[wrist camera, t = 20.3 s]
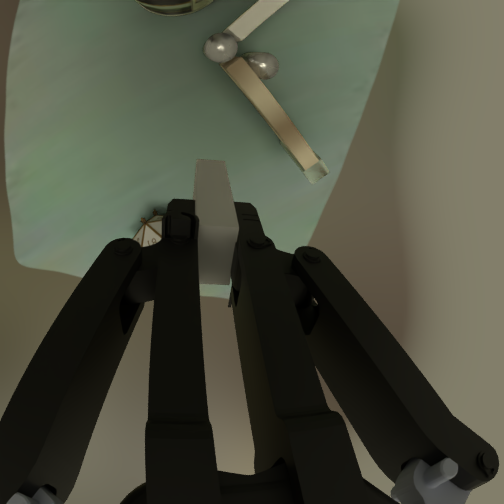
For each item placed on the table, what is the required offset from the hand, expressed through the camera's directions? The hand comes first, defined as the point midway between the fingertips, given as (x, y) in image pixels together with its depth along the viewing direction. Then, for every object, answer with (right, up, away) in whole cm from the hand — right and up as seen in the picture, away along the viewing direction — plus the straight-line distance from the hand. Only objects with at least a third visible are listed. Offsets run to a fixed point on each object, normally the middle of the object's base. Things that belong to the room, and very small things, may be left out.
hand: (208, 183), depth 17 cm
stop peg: (+2, +16, +12) cm, 21 cm away
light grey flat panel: (+4, +22, +8) cm, 24 cm away
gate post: (-1, +17, +11) cm, 21 cm away
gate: (+3, +12, +15) cm, 19 cm away
